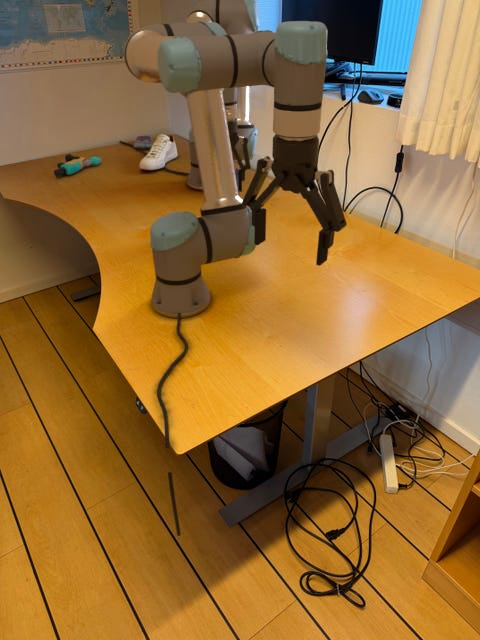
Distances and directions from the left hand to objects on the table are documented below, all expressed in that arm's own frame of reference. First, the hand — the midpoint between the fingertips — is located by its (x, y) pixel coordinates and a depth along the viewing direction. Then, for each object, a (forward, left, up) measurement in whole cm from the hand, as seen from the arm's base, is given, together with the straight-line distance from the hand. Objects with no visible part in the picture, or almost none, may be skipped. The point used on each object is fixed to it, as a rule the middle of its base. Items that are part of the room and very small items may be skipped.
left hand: (289, 252), depth 89 cm
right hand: (+71, +19, -16) cm, 75 cm away
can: (+71, +19, -20) cm, 76 cm away
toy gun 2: (+161, +66, -28) cm, 176 cm away
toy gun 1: (+125, +95, -28) cm, 159 cm away
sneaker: (+135, +57, -28) cm, 149 cm away
